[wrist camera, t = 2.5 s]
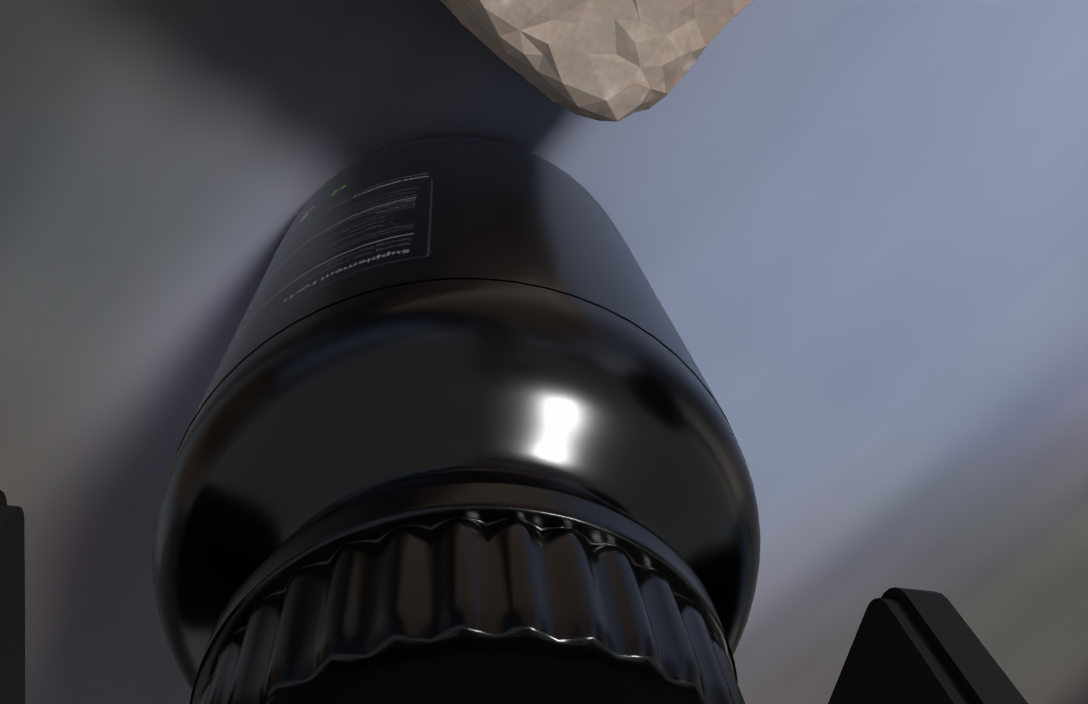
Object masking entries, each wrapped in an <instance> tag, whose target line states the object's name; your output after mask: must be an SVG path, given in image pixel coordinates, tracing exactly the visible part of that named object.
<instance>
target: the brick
mask: <svg viewBox="0 0 1088 704" xmlns="http://www.w3.org/2000/svg"><path fill="white" fill-rule="evenodd" d="M440 1H441V2H443V3H444V5H445V6H446V7H447V8H448V9H449V10H450V11H451V12H452V13H453V15H454V16H455V17H456V18H457V19H458V20H459V21H460V23H461V24H462V25H464V26H465V27H466V28H467V29H468V30H469V31H470V32H471V33H473V34H474V35H475V36H476V37H477V38H478V39H479V40H480V41H481V42H482V43H484V44H485V45H486V46H487V47H488V48H489V49H490V50H491V51H492V52H494V53H495V54H496V55H497V56H498V57H499V58H500V59H501V60H502V61H504V62H505V63H506V64H507V65H509V66H510V67H511V68H513V69H514V70H515V71H516V72H518V73H519V74H520V75H521V76H523V77H524V78H525V79H526V80H527V81H528V82H529V83H531V84H532V85H534V86H535V87H536V88H537V89H538V90H540V91H541V92H542V93H543V94H544V95H545V96H546V97H548V98H549V99H550V100H551V101H554V102H556V103H558V104H559V105H560V106H562V107H564V108H566V109H568V110H569V111H571V112H573V113H575V114H577V115H580V116H584V117H588V118H591V119H595V120H599V121H619V120H621V119H623V118H625V117H626V116H628V115H630V114H632V113H633V112H638V111H642V110H646V109H649V108H651V107H652V106H653V105H655V104H656V103H657V102H658V101H660V100H661V99H662V98H664V97H665V96H666V95H667V94H668V93H669V92H670V91H671V90H672V89H673V87H674V86H675V85H676V84H677V83H678V82H679V80H680V79H681V78H682V77H683V76H684V75H685V74H686V72H687V71H688V70H689V69H690V68H691V67H692V66H693V64H694V63H695V62H696V61H697V59H698V58H699V56H700V55H701V53H702V51H703V50H704V48H705V47H706V46H707V45H708V43H709V42H710V41H711V40H712V39H713V38H714V37H715V36H716V35H717V34H718V33H719V32H720V31H721V30H722V29H723V28H724V27H725V26H726V24H727V23H728V22H729V21H730V20H731V19H732V18H733V17H734V16H736V15H737V14H738V13H739V12H740V11H741V10H742V9H743V8H744V7H746V6H747V5H748V4H749V3H750V2H751V1H752V0H440Z"/></svg>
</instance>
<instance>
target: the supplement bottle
mask: <svg viewBox="0 0 1088 704" xmlns="http://www.w3.org/2000/svg"><path fill="white" fill-rule="evenodd" d="M759 562H760V527H759V515H758V506H757V501H756V496H755V491H754V487H753V482H752V479H751V476H750V473H749V470H748V467H747V464H746V461H745V458H744V456H743V454H742V451H741V449H740V447H739V445H738V442H737V440H736V438H735V436H734V433H733V431H732V429H731V427H730V425H729V423H728V421H727V418H726V416H725V415H724V413H723V411H722V409H721V407H720V406H719V404H718V402H717V400H716V399H715V397H714V395H713V393H712V392H711V390H710V388H709V386H708V385H707V383H706V381H705V379H704V378H703V376H702V374H701V372H700V371H699V369H698V367H697V366H696V364H695V362H694V360H693V359H692V357H691V355H690V353H689V352H688V350H687V348H686V346H685V345H684V343H683V341H682V340H681V338H680V336H679V334H678V333H677V331H676V329H675V327H674V326H673V324H672V322H671V320H670V319H669V317H668V315H667V314H666V312H665V310H664V308H663V307H662V305H661V303H660V301H659V300H658V298H657V296H656V294H655V293H654V291H653V289H652V288H651V286H650V284H649V282H648V281H647V279H646V277H645V275H644V274H643V272H642V270H641V268H640V267H639V265H638V263H637V261H636V260H635V258H634V256H633V255H632V253H631V251H630V249H629V248H628V246H627V244H626V243H625V241H624V239H623V238H622V236H621V235H620V233H619V231H618V230H617V228H616V227H615V225H614V224H613V222H612V221H611V219H610V218H609V216H608V215H607V214H606V212H605V211H604V210H603V208H602V207H601V206H600V205H599V203H598V202H597V201H596V200H595V199H594V198H593V197H592V196H591V195H590V194H589V193H588V192H587V190H586V189H585V188H583V187H582V186H581V185H580V184H579V183H578V182H577V181H575V180H574V179H573V178H572V177H571V176H570V175H568V174H567V173H565V172H564V171H562V170H561V169H560V168H558V167H557V166H555V165H554V164H552V163H550V162H548V161H547V160H545V159H543V158H541V157H539V156H537V155H535V154H533V153H530V152H528V151H526V150H524V149H521V148H518V147H515V146H512V145H509V144H506V143H503V142H498V141H493V140H489V139H484V138H475V137H466V136H441V137H429V138H422V139H417V140H411V141H406V142H403V143H400V144H396V145H393V146H389V147H387V148H384V149H382V150H379V151H377V152H374V153H372V154H370V155H368V156H366V157H364V158H362V159H360V160H358V161H356V162H354V163H353V164H351V165H350V166H348V167H347V168H345V169H344V170H342V171H341V172H339V173H338V174H337V175H336V176H334V177H333V178H332V179H331V180H330V181H328V182H327V183H326V184H325V185H324V186H323V187H322V188H321V189H320V190H319V191H318V192H317V193H316V194H315V195H314V196H313V197H312V198H311V199H310V200H309V201H308V202H307V204H306V205H305V206H304V207H303V209H302V210H301V211H300V212H299V214H298V215H297V216H296V218H295V220H294V221H293V223H292V224H291V226H290V227H289V229H288V231H287V232H286V234H285V236H284V238H283V240H282V241H281V243H280V244H279V246H278V248H277V250H276V252H275V254H274V256H273V258H272V260H271V262H270V264H269V266H268V268H267V270H266V272H265V274H264V276H263V278H262V280H261V282H260V284H259V286H258V288H257V290H256V292H255V294H254V296H253V298H252V300H251V302H250V304H249V306H248V308H247V310H246V312H245V314H244V316H243V318H242V320H241V322H240V324H239V326H238V328H237V330H236V332H235V334H234V336H233V338H232V340H231V342H230V344H229V346H228V348H227V350H226V352H225V354H224V356H223V358H222V360H221V362H220V364H219V366H218V368H217V370H216V372H215V374H214V376H213V378H212V380H211V382H210V384H209V386H208V388H207V390H206V392H205V394H204V396H203V399H202V401H201V403H200V405H199V407H198V409H197V411H196V413H195V415H194V417H193V419H192V421H191V423H190V425H189V427H188V429H187V431H186V433H185V435H184V437H183V439H182V441H181V443H180V446H179V448H178V450H177V453H176V456H175V458H174V460H173V463H172V466H171V469H170V472H169V475H168V478H167V480H166V483H165V486H164V489H163V492H162V495H161V498H160V503H159V507H158V512H157V516H156V521H155V529H154V540H153V581H154V588H155V594H156V600H157V606H158V611H159V615H160V618H161V622H162V625H163V629H164V632H165V636H166V638H167V641H168V644H169V646H170V648H171V651H172V653H173V656H174V658H175V660H176V663H177V665H178V667H179V669H180V671H181V673H182V674H183V676H184V678H185V680H186V681H187V683H188V685H189V687H190V688H191V690H192V695H191V700H190V704H745V702H744V699H743V697H742V694H741V692H740V689H739V687H738V681H737V673H736V668H735V662H734V659H733V654H734V652H735V650H736V648H737V646H738V644H739V641H740V638H741V636H742V633H743V631H744V628H745V625H746V623H747V620H748V616H749V613H750V609H751V605H752V601H753V598H754V594H755V589H756V582H757V576H758V569H759Z"/></svg>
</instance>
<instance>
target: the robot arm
mask: <svg viewBox="0 0 1088 704" xmlns="http://www.w3.org/2000/svg"><path fill="white" fill-rule="evenodd" d="M0 704H25V561H24V513H23V510H22V508H20V507H19V506H9V505H7V501H6V497H5V494H4V492H2V491H1V490H0ZM828 704H1028V703H1027V702H1026V700H1025V699H1024V698H1023V697H1022V695H1021V694H1020V693H1019V691H1018V690H1017V689H1016V687H1015V686H1014V685H1013V684H1012V682H1011V681H1010V680H1009V678H1008V677H1007V676H1006V674H1005V673H1004V672H1003V671H1002V669H1001V668H1000V667H999V665H998V664H997V663H996V661H995V660H994V659H993V657H992V656H991V655H990V654H989V652H988V651H987V650H986V648H985V647H984V646H983V644H982V643H981V642H980V641H979V639H978V638H977V637H976V635H975V634H974V633H973V631H972V630H971V629H970V628H969V626H968V625H967V624H966V622H965V621H964V620H963V618H962V617H961V616H960V615H959V613H958V612H957V611H956V609H955V608H954V607H953V605H952V604H951V603H950V602H949V600H948V599H947V598H946V597H945V596H944V595H943V594H941V593H938V592H933V591H924V590H914V589H905V588H896V587H894V588H890V589H888V590H887V591H886V592H885V593H884V594H883V595H882V597H881V598H877V599H874V600H873V601H871V602H870V604H869V605H868V607H867V609H866V612H865V614H864V617H863V619H862V622H861V624H860V627H859V629H858V631H857V634H856V636H855V639H854V641H853V644H852V646H851V649H850V651H849V654H848V656H847V659H846V661H845V664H844V666H843V668H842V671H841V673H840V676H839V678H838V681H837V683H836V686H835V688H834V691H833V693H832V696H831V698H830V701H829V703H828Z"/></svg>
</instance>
